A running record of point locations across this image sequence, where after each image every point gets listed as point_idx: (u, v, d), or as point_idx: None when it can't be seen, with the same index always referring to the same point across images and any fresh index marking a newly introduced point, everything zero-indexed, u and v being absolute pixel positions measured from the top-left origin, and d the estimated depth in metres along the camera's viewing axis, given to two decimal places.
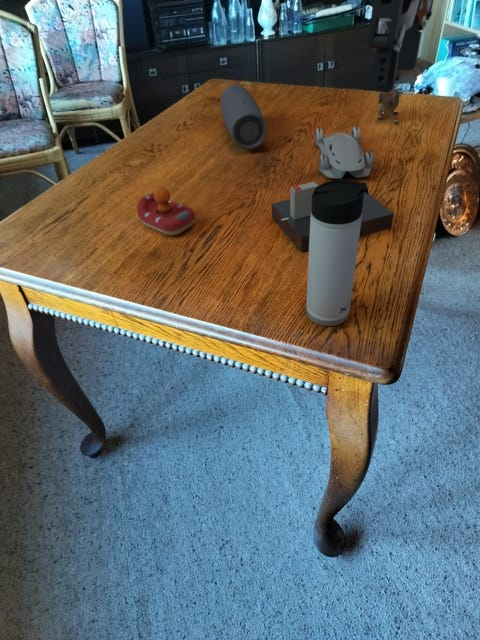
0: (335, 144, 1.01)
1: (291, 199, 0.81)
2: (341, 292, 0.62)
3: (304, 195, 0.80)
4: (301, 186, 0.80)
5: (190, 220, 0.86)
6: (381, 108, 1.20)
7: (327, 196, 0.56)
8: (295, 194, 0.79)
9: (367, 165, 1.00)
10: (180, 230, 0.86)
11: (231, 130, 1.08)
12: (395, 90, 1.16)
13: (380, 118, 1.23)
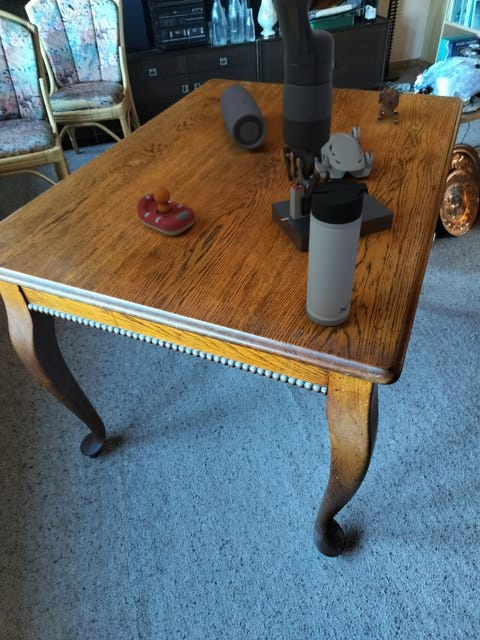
0: (335, 144, 1.01)
1: (291, 199, 0.81)
2: (341, 292, 0.62)
3: None
4: None
5: (190, 220, 0.86)
6: (381, 108, 1.20)
7: (327, 196, 0.56)
8: (295, 194, 0.79)
9: (367, 165, 1.00)
10: (180, 230, 0.86)
11: (231, 130, 1.08)
12: (395, 90, 1.16)
13: (380, 118, 1.23)
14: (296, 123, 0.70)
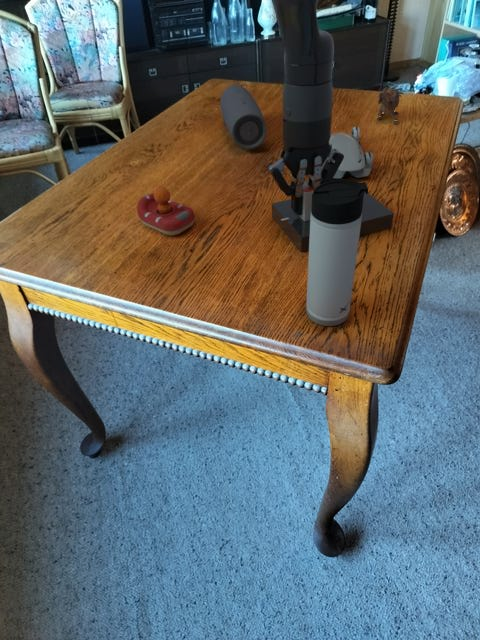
0: (335, 144, 1.01)
1: (307, 203, 0.80)
2: (341, 292, 0.62)
3: None
4: (304, 187, 0.80)
5: (190, 220, 0.86)
6: (381, 108, 1.20)
7: (327, 196, 0.56)
8: None
9: (367, 165, 1.00)
10: (180, 230, 0.86)
11: (231, 130, 1.08)
12: (395, 90, 1.16)
13: (380, 118, 1.23)
14: (329, 118, 0.70)
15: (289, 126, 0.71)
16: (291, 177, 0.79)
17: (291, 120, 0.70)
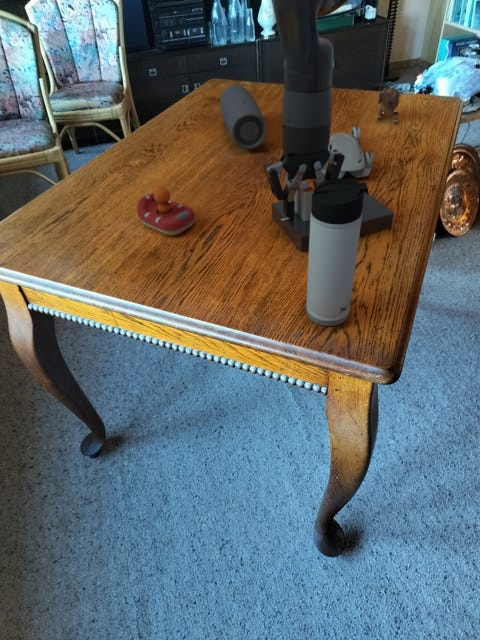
0: (335, 144, 1.01)
1: (307, 203, 0.80)
2: (341, 292, 0.62)
3: None
4: (304, 187, 0.80)
5: (190, 220, 0.86)
6: (381, 108, 1.20)
7: (327, 196, 0.56)
8: None
9: (367, 165, 1.00)
10: (180, 230, 0.86)
11: (231, 130, 1.08)
12: (395, 90, 1.16)
13: (380, 118, 1.23)
14: (328, 124, 0.71)
15: (288, 132, 0.72)
16: (286, 181, 0.79)
17: (291, 126, 0.71)
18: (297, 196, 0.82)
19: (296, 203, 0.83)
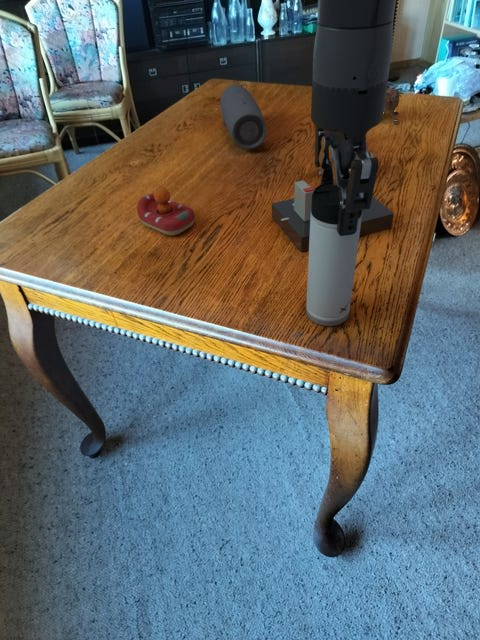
0: None
1: (307, 203, 0.80)
2: (341, 292, 0.62)
3: None
4: (304, 187, 0.80)
5: (190, 220, 0.86)
6: None
7: (327, 196, 0.56)
8: None
9: None
10: (180, 230, 0.86)
11: (231, 130, 1.08)
12: (395, 90, 1.16)
13: None
14: None
15: (372, 97, 0.45)
16: (344, 182, 0.51)
17: (377, 84, 0.45)
18: (297, 196, 0.82)
19: (296, 203, 0.83)
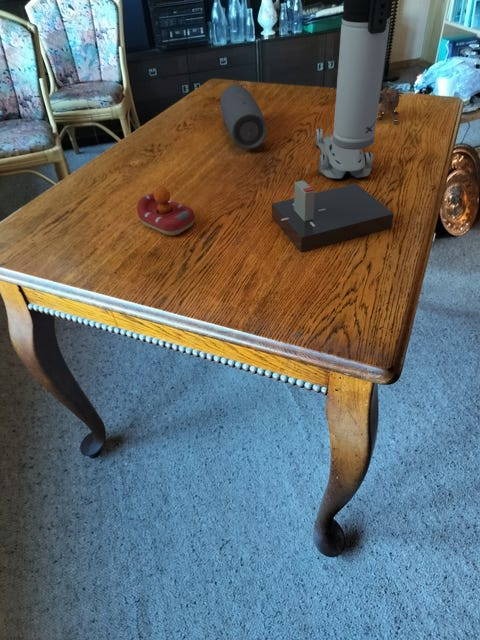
0: None
1: (307, 203, 0.80)
2: (368, 106, 0.67)
3: None
4: (304, 187, 0.80)
5: (190, 220, 0.86)
6: (381, 108, 1.20)
7: None
8: (314, 193, 0.79)
9: (367, 165, 1.00)
10: (180, 230, 0.86)
11: (231, 130, 1.08)
12: (395, 90, 1.16)
13: (380, 118, 1.23)
14: None
15: None
16: None
17: None
18: (297, 196, 0.82)
19: (296, 203, 0.83)
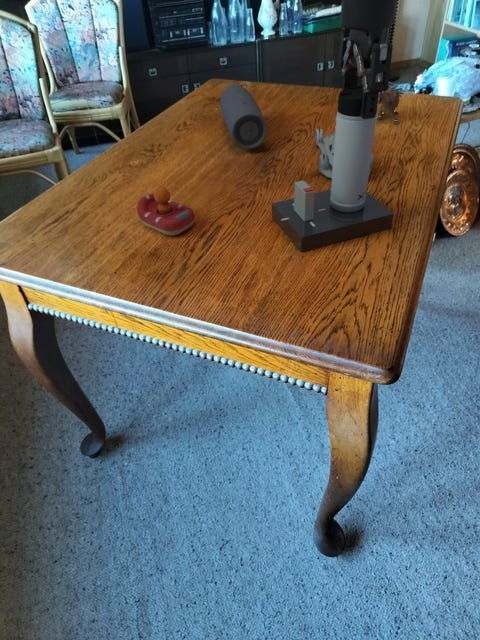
0: None
1: (307, 203, 0.80)
2: (359, 179, 0.79)
3: None
4: (304, 187, 0.80)
5: (190, 220, 0.86)
6: (381, 108, 1.20)
7: (350, 96, 0.73)
8: (314, 193, 0.79)
9: None
10: (180, 230, 0.86)
11: (231, 130, 1.08)
12: (395, 90, 1.16)
13: (380, 118, 1.23)
14: None
15: (387, 0, 0.62)
16: (366, 71, 0.67)
17: None
18: (297, 196, 0.82)
19: (296, 203, 0.83)
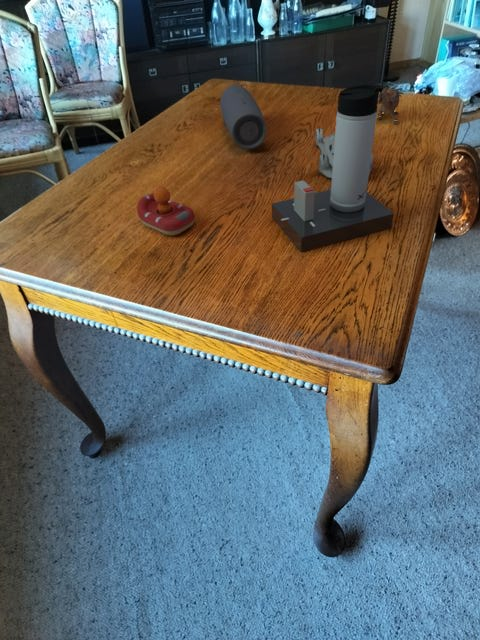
0: None
1: (307, 203, 0.80)
2: (359, 179, 0.79)
3: None
4: (304, 187, 0.80)
5: (190, 220, 0.86)
6: (381, 108, 1.20)
7: (350, 96, 0.73)
8: (314, 193, 0.79)
9: None
10: (180, 230, 0.86)
11: (231, 130, 1.08)
12: (395, 90, 1.16)
13: (380, 118, 1.23)
14: None
15: None
16: None
17: None
18: (297, 196, 0.82)
19: (296, 203, 0.83)
